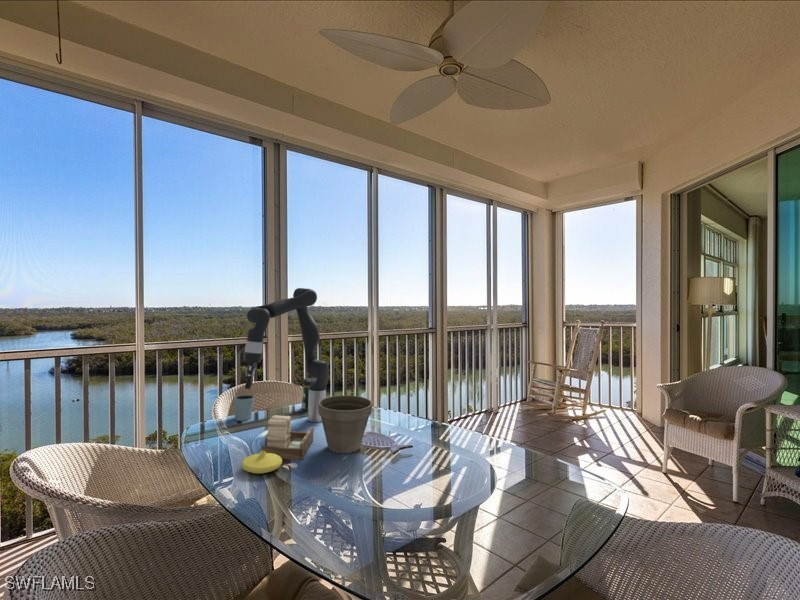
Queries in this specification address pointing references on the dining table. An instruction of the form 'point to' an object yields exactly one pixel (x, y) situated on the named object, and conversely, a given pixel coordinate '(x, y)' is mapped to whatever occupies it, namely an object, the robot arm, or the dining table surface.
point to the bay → (293, 445)
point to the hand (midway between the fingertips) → (248, 387)
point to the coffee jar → (306, 391)
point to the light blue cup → (243, 407)
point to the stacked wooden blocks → (279, 431)
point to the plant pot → (344, 421)
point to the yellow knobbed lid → (261, 462)
